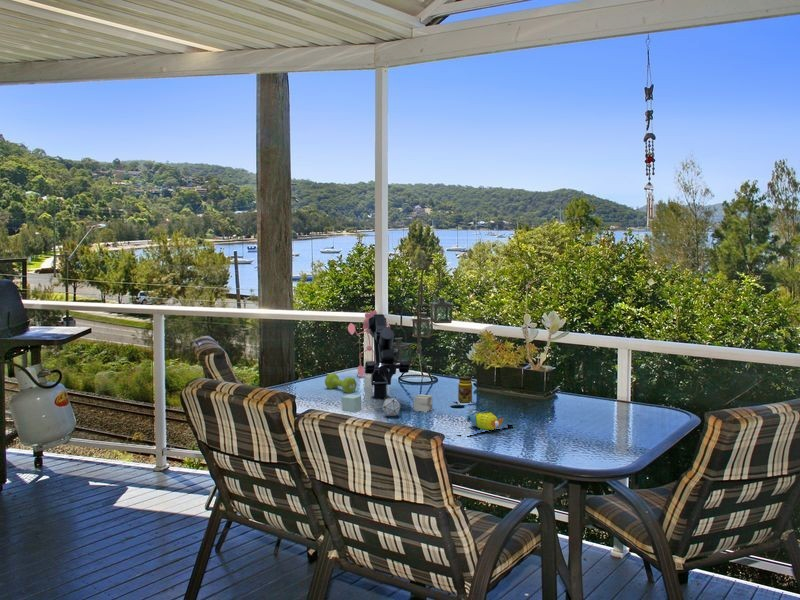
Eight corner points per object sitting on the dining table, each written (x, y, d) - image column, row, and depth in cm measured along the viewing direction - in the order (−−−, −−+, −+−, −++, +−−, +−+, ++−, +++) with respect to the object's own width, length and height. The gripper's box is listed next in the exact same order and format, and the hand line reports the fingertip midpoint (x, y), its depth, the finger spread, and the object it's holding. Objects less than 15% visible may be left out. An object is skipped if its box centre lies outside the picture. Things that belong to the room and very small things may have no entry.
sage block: (349, 407, 325) (349, 394, 324) (361, 409, 322) (361, 395, 321) (341, 410, 319) (341, 397, 319) (354, 412, 317) (354, 398, 316)
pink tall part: (343, 378, 387) (344, 310, 384) (380, 371, 405) (381, 307, 401) (363, 383, 377) (364, 313, 373) (400, 376, 394) (401, 310, 391)
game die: (394, 426, 309) (399, 410, 302) (375, 418, 310) (380, 402, 304) (402, 411, 316) (407, 396, 309) (383, 403, 317) (388, 387, 310)
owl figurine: (469, 418, 275) (444, 411, 288) (469, 442, 276) (444, 433, 288) (525, 408, 291) (498, 401, 304) (525, 430, 292) (498, 422, 304)
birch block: (419, 408, 325) (419, 394, 325) (432, 409, 323) (432, 395, 322) (413, 411, 320) (413, 397, 319) (426, 412, 317) (426, 398, 317)
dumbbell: (358, 392, 356) (358, 377, 355) (345, 394, 350) (345, 379, 350) (336, 386, 368) (336, 372, 367) (323, 389, 362) (323, 374, 361)
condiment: (461, 406, 329) (461, 379, 328) (452, 401, 337) (453, 375, 335) (476, 404, 332) (476, 377, 330) (467, 400, 339) (467, 374, 338)
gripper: (365, 342, 316) (368, 373, 306) (409, 341, 319) (413, 372, 309) (363, 357, 325) (366, 388, 315) (406, 357, 327) (410, 387, 318)
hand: (389, 383), depth 314 cm, fingers closed
